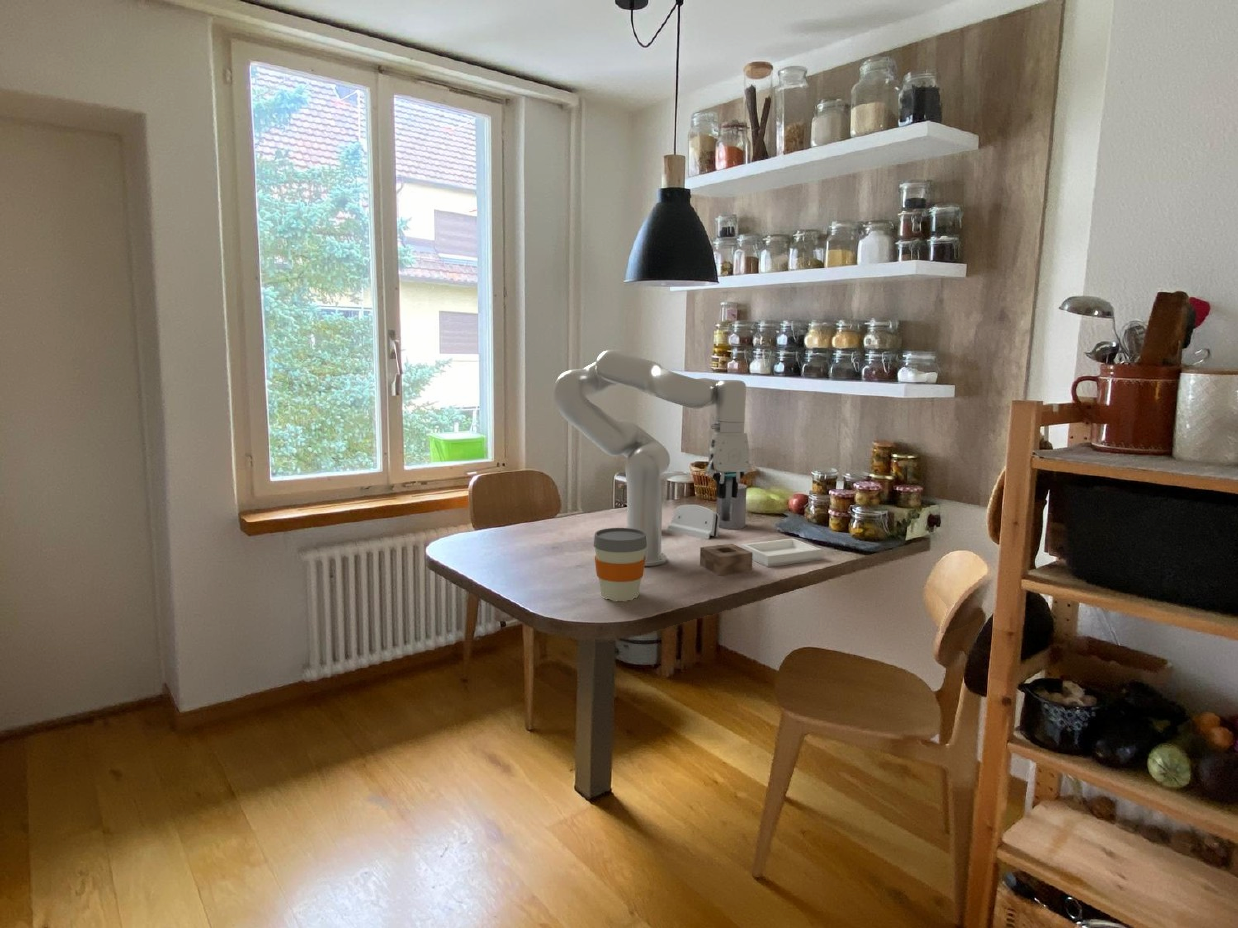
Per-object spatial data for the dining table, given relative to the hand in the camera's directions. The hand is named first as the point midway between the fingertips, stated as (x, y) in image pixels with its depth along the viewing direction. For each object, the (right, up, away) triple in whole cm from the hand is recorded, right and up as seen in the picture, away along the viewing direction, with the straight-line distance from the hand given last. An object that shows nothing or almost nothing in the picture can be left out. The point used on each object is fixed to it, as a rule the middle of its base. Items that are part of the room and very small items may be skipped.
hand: (726, 496), depth 197 cm
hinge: (-4, -14, +41) cm, 43 cm away
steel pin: (0, -6, +1) cm, 6 cm away
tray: (+17, -18, +14) cm, 28 cm away
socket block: (0, -19, +3) cm, 20 cm away
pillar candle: (+9, -12, +50) cm, 52 cm away
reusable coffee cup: (-28, -23, -19) cm, 41 cm away
